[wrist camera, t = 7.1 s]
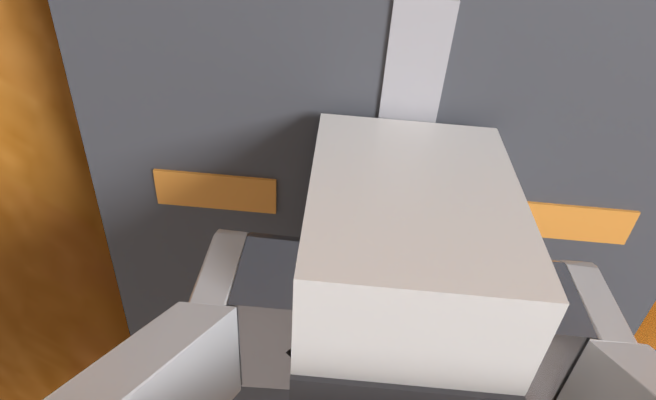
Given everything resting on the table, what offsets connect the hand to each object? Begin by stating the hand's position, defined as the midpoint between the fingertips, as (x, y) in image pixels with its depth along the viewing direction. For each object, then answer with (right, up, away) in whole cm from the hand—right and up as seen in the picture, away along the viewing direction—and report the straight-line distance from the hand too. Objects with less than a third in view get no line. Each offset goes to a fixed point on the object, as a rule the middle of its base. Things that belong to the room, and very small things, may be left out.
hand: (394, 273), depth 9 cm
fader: (0, +1, +1) cm, 2 cm away
